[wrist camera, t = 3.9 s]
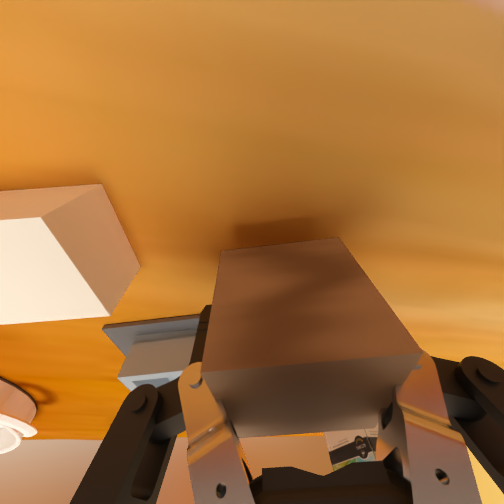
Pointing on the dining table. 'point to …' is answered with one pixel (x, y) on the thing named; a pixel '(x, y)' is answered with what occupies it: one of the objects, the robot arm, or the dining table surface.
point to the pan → (15, 415)
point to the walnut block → (302, 341)
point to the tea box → (351, 446)
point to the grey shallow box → (154, 349)
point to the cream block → (61, 254)
